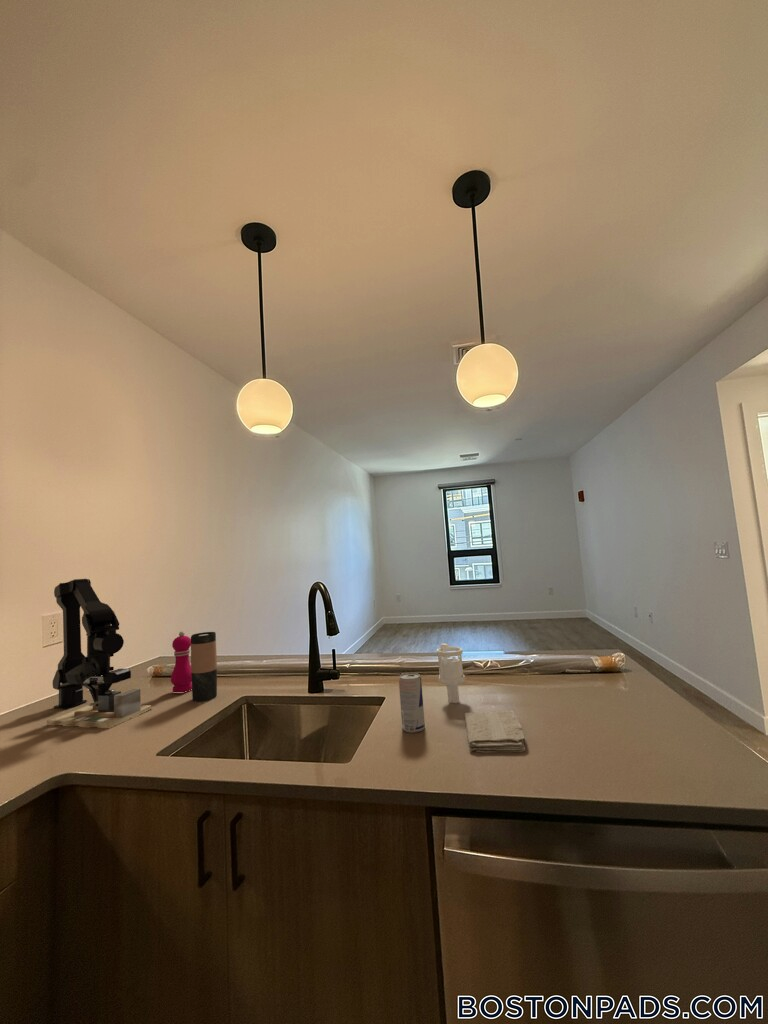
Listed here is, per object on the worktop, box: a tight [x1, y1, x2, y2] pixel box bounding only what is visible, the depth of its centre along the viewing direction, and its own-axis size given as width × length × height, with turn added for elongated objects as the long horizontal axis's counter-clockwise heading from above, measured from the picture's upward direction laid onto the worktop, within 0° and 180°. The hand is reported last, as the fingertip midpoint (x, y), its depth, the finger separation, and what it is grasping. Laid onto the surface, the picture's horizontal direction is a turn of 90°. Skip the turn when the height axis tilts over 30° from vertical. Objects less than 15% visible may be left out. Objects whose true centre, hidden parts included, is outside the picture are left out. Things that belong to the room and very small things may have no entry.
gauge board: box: [46, 688, 153, 729], centre depth 123 cm, size 23×14×7 cm, turn 73°
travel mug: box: [190, 631, 218, 703], centre depth 135 cm, size 8×8×20 cm
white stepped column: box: [436, 643, 466, 704], centre depth 116 cm, size 7×7×15 cm
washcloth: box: [464, 710, 526, 753], centre depth 93 cm, size 12×18×3 cm, turn 173°
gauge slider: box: [88, 688, 122, 712], centre depth 121 cm, size 4×8×6 cm, turn 163°
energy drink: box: [398, 672, 426, 734], centre depth 100 cm, size 5×5×12 cm
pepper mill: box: [170, 630, 192, 693], centre depth 145 cm, size 7×7×20 cm
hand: (98, 706), depth 123 cm, fingers closed
